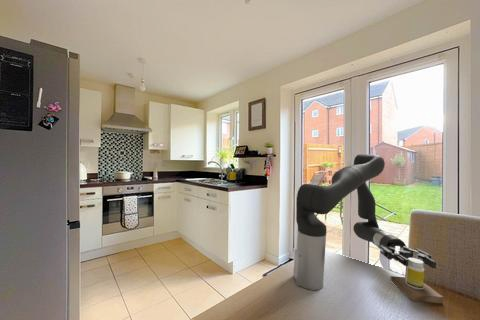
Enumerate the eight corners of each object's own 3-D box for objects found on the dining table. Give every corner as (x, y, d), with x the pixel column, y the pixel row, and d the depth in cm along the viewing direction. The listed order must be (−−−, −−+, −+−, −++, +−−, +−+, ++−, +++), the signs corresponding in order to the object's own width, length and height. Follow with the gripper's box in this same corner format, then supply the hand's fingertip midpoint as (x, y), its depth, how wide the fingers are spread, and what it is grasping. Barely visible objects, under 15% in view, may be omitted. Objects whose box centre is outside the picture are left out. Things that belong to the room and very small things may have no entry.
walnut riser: (412, 300, 65) (412, 294, 65) (390, 281, 75) (391, 276, 75) (442, 303, 65) (443, 297, 65) (417, 283, 75) (417, 278, 75)
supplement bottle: (426, 291, 67) (428, 265, 67) (409, 288, 68) (411, 262, 68) (417, 282, 72) (419, 258, 72) (401, 280, 73) (403, 256, 73)
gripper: (370, 233, 85) (398, 251, 68) (407, 235, 84) (445, 254, 68) (369, 251, 85) (397, 274, 68) (406, 254, 84) (443, 277, 68)
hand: (421, 264), depth 68 cm, fingers open, 8 cm apart
